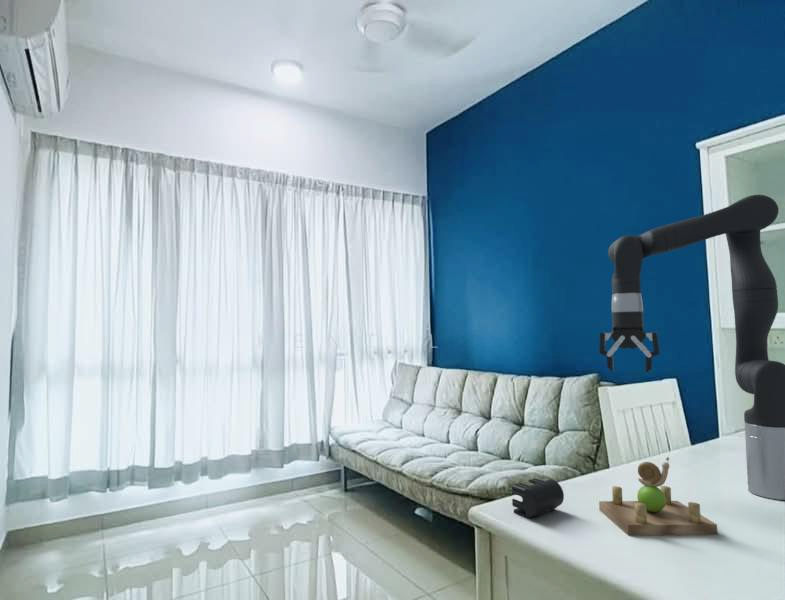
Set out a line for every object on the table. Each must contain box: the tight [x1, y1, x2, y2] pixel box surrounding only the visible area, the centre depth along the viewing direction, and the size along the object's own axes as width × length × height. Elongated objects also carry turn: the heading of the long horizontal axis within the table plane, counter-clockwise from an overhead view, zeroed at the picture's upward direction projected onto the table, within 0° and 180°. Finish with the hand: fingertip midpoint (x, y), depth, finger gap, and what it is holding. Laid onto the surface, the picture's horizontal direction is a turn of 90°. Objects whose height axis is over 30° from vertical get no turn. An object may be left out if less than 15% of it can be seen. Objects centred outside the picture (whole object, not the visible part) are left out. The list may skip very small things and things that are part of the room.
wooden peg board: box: [598, 485, 718, 536], centre depth 100 cm, size 18×13×6 cm
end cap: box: [511, 477, 565, 519], centre depth 106 cm, size 10×7×7 cm
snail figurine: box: [636, 456, 670, 512], centre depth 101 cm, size 5×6×12 cm
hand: (629, 371), depth 124 cm, fingers open, 8 cm apart
